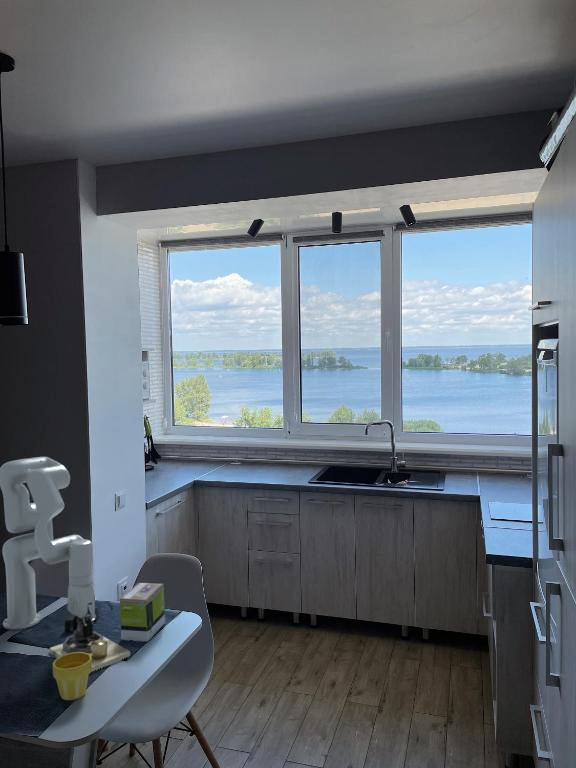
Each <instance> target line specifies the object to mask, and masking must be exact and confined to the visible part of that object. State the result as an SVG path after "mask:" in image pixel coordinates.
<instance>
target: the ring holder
mask: <svg viewBox="0 0 576 768" xmlns="http://www.w3.org/2000/svg"><path fill="white" fill-rule="evenodd" d="M103 636H104V635H102V634H101V633H98V632H97V631H93V635H92V636H90V637H89V638H90V639H95V640H103ZM76 640H77V639H76V638H75V637H74V634H73V635H69V636H67V637H66V638H65V640H64V641H63V651H65V652H66V653H74V652H84V653H90V652H91V645H89V646H86V647H70V646H69V644H70V643H73V642H75V641H76Z"/></svg>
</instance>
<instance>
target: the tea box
mask: <svg viewBox="0 0 576 768" xmlns="http://www.w3.org/2000/svg"><path fill="white" fill-rule="evenodd" d="M165 609H166V608H165V587H164V583H150V582H138V583H136V584H135V586H133V587H132V588H131V589H130V590H128V591H127V592H126V593H124V594H123V595H122V596H121V597H120V598H119V614H120V615H119V617H120V634H121V635H120V638H121V640H122V641H130V640H133V641H134V642H144V643H145V642H149V640H150V639H152V638H153V636H154V635H155V634H156V633H157V632H158V631H159V630H160V629H161V628H162V627H163V626H164V625H165V623H166V613H165Z"/></svg>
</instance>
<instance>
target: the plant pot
mask: <svg viewBox="0 0 576 768" xmlns="http://www.w3.org/2000/svg"><path fill="white" fill-rule="evenodd" d="M91 669H92V657H91V655H90V654H88V653H84V652H74V653H68V654H65V655H62V656H60V657H58V658H57V657H56V659H54V660H53V662H52V676H53V678H54V679H55V680H56V684H57V688H58V691H59V695H60V697H61V700H64V701H76V700H77V699H80V698H82V697H83V696H84V695H85V694H86V690H87V685H88V680H89V675H90V673H89V672H90V671H91Z"/></svg>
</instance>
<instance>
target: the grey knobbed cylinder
mask: <svg viewBox="0 0 576 768" xmlns="http://www.w3.org/2000/svg"><path fill="white" fill-rule="evenodd" d="M86 615H87V614H86ZM87 619H88V618H87V617H86V621H87ZM76 621H77V623H78V627H77V629H76V630H74V632H73V631H72V634H73V635H74V637H75V638H76V639H77V640H76V641H75V642H74V644H75V645H77V646H83V645H87V644H89V643H90V642H91V639H90V638H89V637H90V636H89V637H86V638H83V625H84V623H83V618H79V617H78V619H77V620H76Z"/></svg>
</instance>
